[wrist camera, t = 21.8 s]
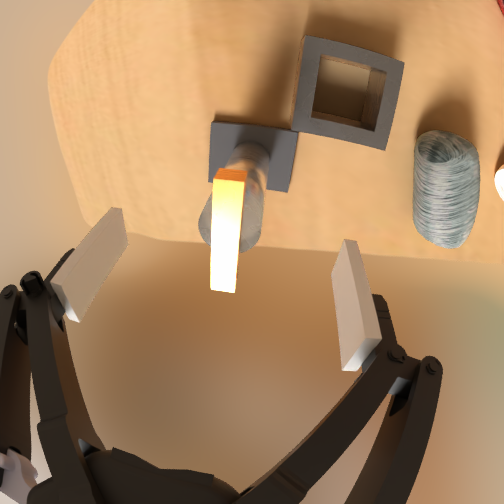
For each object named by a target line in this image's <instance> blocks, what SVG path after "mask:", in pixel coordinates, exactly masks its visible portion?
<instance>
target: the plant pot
mask: <svg viewBox="0 0 504 504" xmlns="http://www.w3.org/2000/svg"><path fill="white" fill-rule="evenodd" d="M498 3H499V6H500V8H501V11H502V13H503V15H504V0H498Z"/></svg>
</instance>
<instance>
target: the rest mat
mask: <svg viewBox="0 0 504 504" xmlns="http://www.w3.org/2000/svg"><path fill="white" fill-rule="evenodd" d="M297 136H298V131H292V130H290V129H283V128H276V127H269V126H261V125H253V124H244V123H233V122H222V121H213V122H211V134H210V154H209V179H208V182H211V183H213V178H214V177H215V175H216V173H217V171H218V170H219V168H225V166H226V164H227V162H228V160H229V158H230V157H231V155H232V153H233V151H234V149H235V148H236V147H237V146H238V145H239V144H240V143H242V142H245V141H256V142H258V143H260V144H262V145H263V146H264V147H265V148H266V149H267V151H268V153H269V157H270V160H269V169H268V177H267V185H266V189H268V190H275V191H281V192H288V188H289V183H290V177H291V171H292V166H293V160H294V154H295V148H296V142H297Z"/></svg>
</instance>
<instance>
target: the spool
mask: <svg viewBox="0 0 504 504" xmlns="http://www.w3.org/2000/svg"><path fill="white" fill-rule="evenodd" d="M479 192H480V164H479V154H478V152H477V150H476V148H475V147H474V145H473V144H472V143H470V142H469V141H468V140H466V139H465V138H463V137H461V136H459V135H457V134H454V133H451V132H446V131H440V130H432V131H428V132H426V133H423V134H421V135H420V136H419V137H418V138H417V142H416V145H415V150H414V184H413V221H414V224H415V227H416V229H417V231H418V232H419V233H420V234H421V235H422V236H423V237H424V238H425V239H427V240H428V241H430V242H432V243H434V244H435V245H437V246H440V247H443V248H457V247H460V246H461V245H462V244H463V243H464V242H465V240H466V239H467V237H468V236H469V234H470V232H471V229H472V227H473V224H474V222H475V217H476V213H477V208H478V202H479Z"/></svg>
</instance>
